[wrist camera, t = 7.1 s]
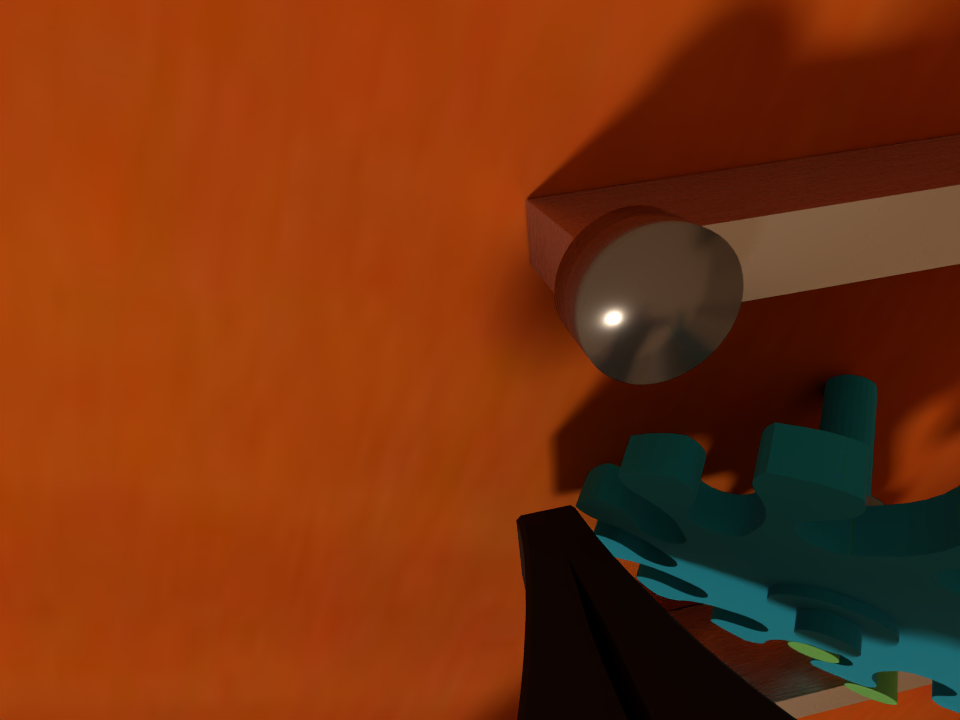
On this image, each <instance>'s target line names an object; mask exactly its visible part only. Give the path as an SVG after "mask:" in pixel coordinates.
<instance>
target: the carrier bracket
mask: <svg viewBox="0 0 960 720" xmlns="http://www.w3.org/2000/svg"><path fill="white" fill-rule="evenodd" d="M526 206H527V222H528V238H529V253H530V264H531V266H532V267H533V268H534V269H535V270H536V272H537V273H538V274H539V275H540V277H541V278H542V279H543V280H544V281H545V283H546V284H547V285H548V286H549V288H550V289H551V290H552V291H553V292H554V296H555V304H556V308H557V312H558V314H559V316H560V319H561V321H562V322H563V324H564V325H565V327H566V328H567V330H568V331H569V332H570V334H571V335H572V336H573V338H574V339H575V340H576V342H577V343H578V344H579V346H580V347H581V348H582V350H583V351H584V352H585V354H586V355H587V356H588V358H589V359H590V360H591V361H592V363H593V364H594V365H595V366H596V367H597V368H598V369H599V370H600V371H601V372H603V373H604V374H606V375H607V376H609V377H611V378H613V379H615V380H618V381H621V382H625V383H629V384H654V383H659V382H663V381H667V380H670V379H673V378H676V377H678V376H680V375H682V374H684V373H686V372H688V371H690V370H691V369H693V368H695V367H696V366H697V365H699V364H700V363H701V362H703V361H704V360H705V359H706V358H708V357H709V356H710V355H711V354H712V353H713V352H714V351H715V350H716V349H717V348H718V346H719V345H720V344H721V343H722V341H723V340H724V339H725V338H726V336H727V335H728V333H729V331H730V330H731V328H732V326H733V324H734V322H735V320H736V318H737V315H738V312H739V309H740V306H741V302H744V301H750V300H756V299H762V298H767V297H773V296H779V295H784V294H790V293H796V292H802V291H807V290H813V289H819V288H824V287H830V286H836V285H841V284H847V283H853V282H859V281H864V280H870V279H876V278H881V277H887V276H893V275H899V274H904V273H910V272H916V271H921V270H927V269H933V268H939V267H944V266H950V265H956V264H960V135H953V136H946V137H940V138H933V139H926V140H920V141H913V142H906V143H900V144H893V145H886V146H880V147H873V148H866V149H860V150H853V151H846V152H840V153H833V154H826V155H820V156H813V157H806V158H800V159H793V160H786V161H780V162H773V163H766V164H760V165H753V166H746V167H740V168H733V169H726V170H720V171H713V172H706V173H699V174H693V175H686V176H679V177H673V178H666V179H659V180H653V181H646V182H639V183H633V184H626V185H619V186H613V187H606V188H599V189H593V190H586V191H579V192H573V193H566V194H559V195H553V196H546V197H539V198H533V199H526ZM712 610H713V606H712V605H708V604H700V605H696V606H692V607H687V608H683V609H678V610H674V611H670V612H668V613H669V614H670V615H671V616H672V617H673V618H674V619H675V620H676V621H677V622H678V623H679V624H680V625H682V626H683V627H684V628H685V629H686V630H687V631H688V632H689V633H690V634H691V635H692V636H694V637H695V638H696V639H697V640H698V641H699V642H700V643H701V644H702V645H704V646H705V647H706V648H707V649H708V650H709V651H711V652H712V653H713V654H714V655H715V656H716V657H718V658H719V659H720V660H721V661H722V662H723V663H725V664H726V665H727V666H728V667H730V668H731V669H732V670H733V671H734V672H736V673H737V674H738V675H739V676H741V677H742V678H743V679H744V680H745V681H747V682H748V683H749V684H750V685H752V686H753V687H754V688H755V689H757V690H758V691H759V692H761V693H762V694H763V695H765V696H766V697H767V698H769V699H770V700H771V701H773V702H774V703H775V704H777V705H778V706H779V707H781V708H782V709H783V710H785V711H786V712H787V713H789V714H790V715H791V716H793V717H794V718H795V719H796V718H800V717H804V716H808V715H811V714H815V713H819V712H823V711H827V710H831V709H835V708H839V707H843V706H847V705H851V704H854V703H858V702H862V701H866V700H870V698H867V697H865V696H862V695H860V694H858V693H856V692H854V691H852V690H850V689H849V688H847V687H846V686H845V685H844V683H845V679H844V678H841V677H839V676H836V675H834V674H831V673H829V672H827V671H824V670H822V669H820V668H818V667H816V666H814V665H812V664H811V657H809V656H807V655H804V654H802V653H800V652H798V651H796V650H794V649H793V648H791V647H790V646H789V645H788V641H787V640H768V641H766V642H765V643H754V642H750V641H746V640H744V639H742V638H740V637H738V636H736V635H734V634H732V633H730V632H728V631H726V630H725V629H723V628H721V627H719V626H718V625H716V624H715V623H713V622H712V621H710V620H711V615H712ZM929 684H932V679H929V678H926V677H923V676H920V675H916V674H912V673H908V672H902V671H898V689H897V692H901V691H905V690H909V689H913V688H917V687H921V686H925V685H929Z"/></svg>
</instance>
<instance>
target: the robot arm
mask: <svg viewBox="0 0 960 720" xmlns="http://www.w3.org/2000/svg"><path fill="white" fill-rule="evenodd" d="M516 521H517V530H518V539H519V549H520V558H521V567H522V576H523V580H524V585H525V589H526V621H525V643H524V660H523V672H522V683H521V693H520V702H519V711H518V719H517V720H797V719H795V718H794V717H793V716H791V715H790V714H789V713H787V712H786V711H785V710H783V709H782V708H781V707H779V706H778V705H777V704H775V703H774V702H773V701H771V700H770V699H769V698H767V697H766V696H765V695H763V694H762V693H761V692H759V691H758V690H757V689H755V688H754V687H753V686H752V685H750V684H749V683H748V682H747V681H745V680H744V679H743V678H742V677H741V676H739V675H738V674H737V673H736V672H734V671H733V670H732V669H731V668H730V667H728V666H727V665H726V664H725V663H723V662H722V661H721V660H720V659H719V658H718V657H716V656H715V655H714V654H713V653H712V652H711V651H709V650H708V649H707V648H706V647H705V646H704V645H702V644H701V643H700V642H699V641H698V640H697V639H696V638H695V637H694V636H692V635H691V634H690V633H689V632H688V631H687V630H686V629H685V628H684V627H683V626H682V625H680V624H679V623H678V622H677V621H676V620H675V619H674V618H673V617H672V616H671V615H670V614H669V613H668V612H667V611H666V610H665V609H664V608H663V607H662V606H661V605H660V604H659V603H658V602H657V601H656V600H655V599H654V598H653V597H652V596H651V595H650V594H649V593H648V592H647V591H646V590H645V589H644V588H643V587H642V586H641V585H640V584H639V583H638V582H637V581H636V580H635V579H634V577H633V576H632V575H631V574H630V573H629V572H628V571H627V570H626V569H625V568H624V567H623V566H622V565H621V564H620V562H619V561H618V560H617V559H616V558H615V557H614V556H613V555H612V553H611V552H610V551H609V550H608V549H607V548H606V546H605V545H604V544H603V543H602V542H601V541H600V539H599V538H598V537H597V536H596V534H595V533H594V532H593V531H592V530H591V528H590V527H589V526H588V524H587V523H586V522H585V521H584V519H583V518H582V517H581V515H580V514H579V513H578V511H577V510H576V508H574V507H573V506H571V505H569V506H564V507H559V508H555V509H550V510H545V511H540V512H535V513H531V514H526V515H521V516H520V517H519V518H518V519H517V520H516Z"/></svg>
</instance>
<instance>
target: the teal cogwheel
mask: <svg viewBox="0 0 960 720" xmlns="http://www.w3.org/2000/svg"><path fill="white" fill-rule="evenodd" d="M877 391H878V389H877V386H876V384H875V383H874V382H872V381H871V380H869V379H867V378H865V377H861V376H857V375H839V376H835V377H832V378H830V379H829V380H827V382H826V383H825V390H824V398H823V405H822V413H821V421H820V429H819V430H817V429H812V428H807V427H801V426H795V425H789V424H782V423H776V422H775V423H773V424H771V425H769V426H767V427H766V428H765V429H764V430H763V432H762V436H761V440H760V445H759V451H758V456H757V461H756V466H755V472H754V477H753V482H752V486H753V489H754V491H755V492H754V493H752V494H747V495H739V494H731V493H726V492H723V491H720V490H717V489H715V488H712V487H710V486H709V485H707V484H705V483H704V482H702V481H701V476H702V472H703V468H704V464H705V460H706V453H705V450H704V449H703V447H702V446H701V445H700V444H699V443H698V442H696V441H695V440H694V439H692V438H690V437H689V436H687V435H680V434H672V433H649V434H639V435H631V437H630V440H629V443H628V446H627V449H626V452H625V455H624V458H623V461H622V464H621V467H619V466H617V465H614V464H611V463H607V464H601V465H599V466H596V467H595V468H593V469H592V470H591V471H590V472H589V473H588V474H587V477H586V480H585V482H584V485H583V488H582V490H581V493H580V496H579V499H578V501H577V504H576V507H577V508H578V509H580V510H581V511H582V512H584V513H585V514H587V515H589V516H591V517H593V518H595V519H597V520H598V521H597V524H596V527H595V530H594V533H595V534H596V536H597V537H598V538H599V539H600V541H601V542H602V543H603V544H604V545H605V546H606V548H607V549H608V550H609V551H610V552H611V553H612V555H613V556H614V557H617V558H620V559H625V560H629V561H633V562H637V563H640V565H639V569H638V572H637V576H636V577H637V578H638V580H639V581H640V582H641V583H642V584H644V585H645V586H646V587H647V588H649V589H650V590H651V591H653V592H654V593H655V594H657V595H660V596H663V597H666V598H669V599H673V600H685V601H694V602H699V603H704V604H708V605H712V606H713V610H712V615H711V620H710V621H712V622H713V623H715V624H716V625H718V626H719V627H721V628H723V629H725V630H726V631H728V632H730V633H732V634H734V635H736V636H738V637H740V638H742V639H744V640H746V641H750V642H754V643H765V642H766V641H768V640H787V641H788V645H789V646H790V647H791V648H793V649H794V650H796V651H798V652H800V653H802V654H804V655H807V656H809V657H811V664H812V665H814V666H816V667H818V668H820V669H822V670H824V671H827V672H829V673H831V674H834V675H836V676H839V677H841V678H844V679H845V683H844V685H845V686H846V687H847V688H849V689H850V690H852V691H854V692H856V693H858V694H860V695H862V696H865V697H867V698H870V699H872V700H875V701H879V702H882V703H886V704H891V705H896V704H897V689H898V671H902V672H908V673H912V674H916V675H920V676H923V677H926V678H929V679H932V699H933V701H934V702H936V703H937V704H939V705H940V706H942V707H944V708H947V709H950V710H953V711H955V712H958V713H960V486H958V487H957V488H955V489H953V490H951V491H949V492H947V493H945V494H943V495H939V496H936V497H933V498H930V499H927V500H922V501H917V502H911V503H904V504H893V505H885V504H883V503H882V502H881V501H880V500H878V499H876V498H874V497H873V496H871V486H872V470H873V454H874V438H875V423H876V407H877Z"/></svg>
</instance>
